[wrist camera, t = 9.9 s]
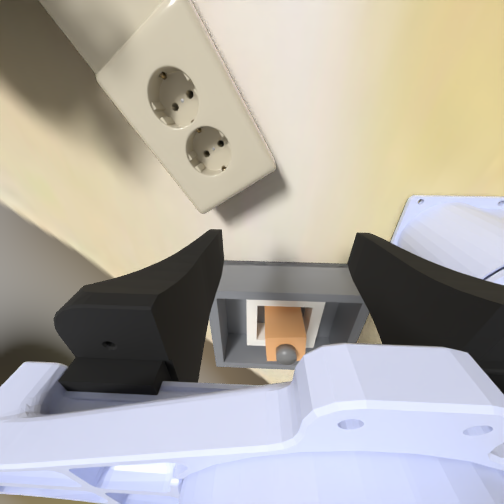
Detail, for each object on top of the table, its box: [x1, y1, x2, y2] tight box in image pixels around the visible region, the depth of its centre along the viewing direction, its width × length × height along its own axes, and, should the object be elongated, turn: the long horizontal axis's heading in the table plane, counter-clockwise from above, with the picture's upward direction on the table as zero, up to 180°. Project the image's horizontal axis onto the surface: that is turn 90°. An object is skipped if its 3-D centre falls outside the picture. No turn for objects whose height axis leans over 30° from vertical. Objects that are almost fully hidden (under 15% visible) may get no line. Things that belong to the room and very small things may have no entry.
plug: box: [265, 306, 307, 365], centre depth 24 cm, size 4×4×7 cm
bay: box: [209, 261, 369, 370], centre depth 26 cm, size 16×13×5 cm
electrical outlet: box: [38, 0, 276, 214], centre depth 14 cm, size 7×4×18 cm
